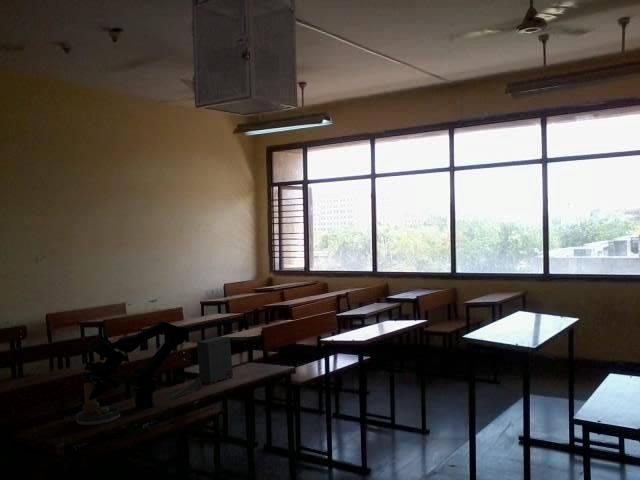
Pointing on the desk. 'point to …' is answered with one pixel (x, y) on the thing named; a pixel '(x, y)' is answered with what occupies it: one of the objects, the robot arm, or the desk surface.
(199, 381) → the caliper
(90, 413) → the brown waisted peg
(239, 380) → the desk surface
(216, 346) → the hard drive box
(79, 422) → the carrier plate
